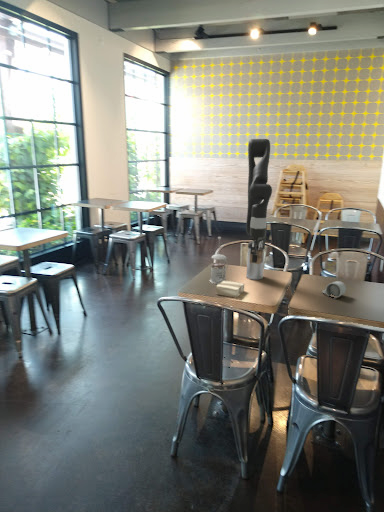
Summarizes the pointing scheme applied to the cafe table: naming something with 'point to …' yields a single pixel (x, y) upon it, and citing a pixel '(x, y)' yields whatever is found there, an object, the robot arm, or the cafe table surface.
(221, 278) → the french press
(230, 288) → the birch base
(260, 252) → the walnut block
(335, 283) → the ceramic mug
